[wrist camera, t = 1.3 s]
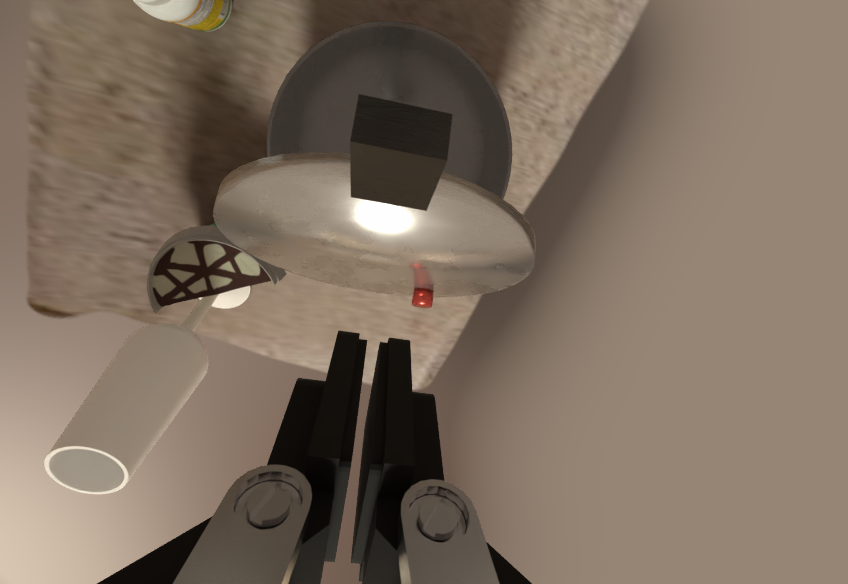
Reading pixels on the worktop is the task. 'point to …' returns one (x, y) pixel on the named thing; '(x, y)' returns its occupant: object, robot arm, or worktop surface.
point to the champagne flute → (134, 402)
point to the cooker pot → (394, 97)
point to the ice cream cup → (203, 267)
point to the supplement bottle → (190, 12)
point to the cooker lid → (378, 212)
